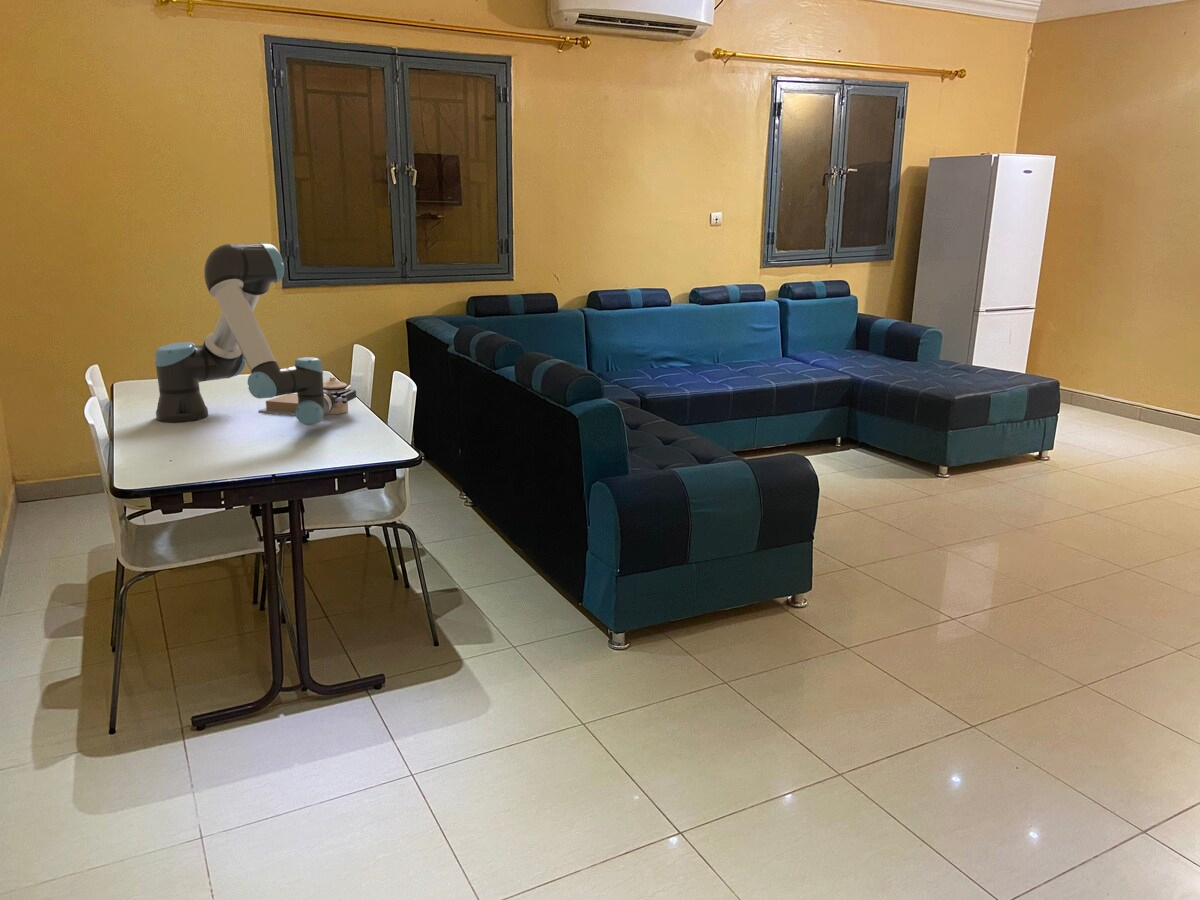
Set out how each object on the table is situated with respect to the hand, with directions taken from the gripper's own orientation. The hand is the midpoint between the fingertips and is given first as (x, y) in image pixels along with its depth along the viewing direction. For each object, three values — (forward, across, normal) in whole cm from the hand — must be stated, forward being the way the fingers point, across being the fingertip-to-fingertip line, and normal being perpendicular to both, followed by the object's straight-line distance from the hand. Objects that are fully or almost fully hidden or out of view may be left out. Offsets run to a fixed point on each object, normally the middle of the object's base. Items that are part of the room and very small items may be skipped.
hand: (335, 389), depth 292 cm
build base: (+2, -14, -7) cm, 16 cm away
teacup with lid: (-4, 0, -7) cm, 8 cm away
